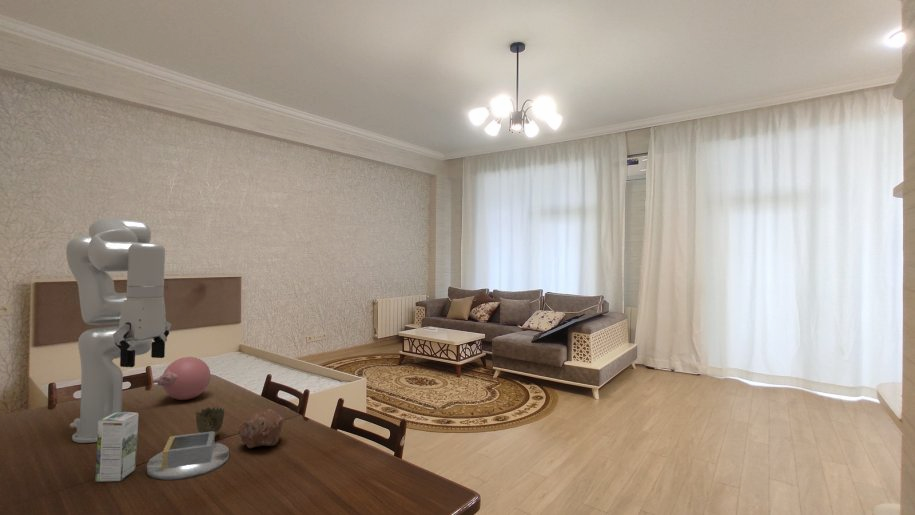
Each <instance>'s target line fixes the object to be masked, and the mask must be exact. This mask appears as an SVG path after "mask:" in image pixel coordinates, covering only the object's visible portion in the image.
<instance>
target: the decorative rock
mask: <svg viewBox="0 0 915 515" xmlns="http://www.w3.org/2000/svg"><path fill="white" fill-rule="evenodd" d="M283 422H284V418H283V417H282V416H281V415H280V414H279V413H278V412H276V411H275V410H273V409H270V408H269V409H267V410H265V409H263V410H260V411H258V412H256V411H255V412H253V413H252V414H251V415H246V417H245V418H244V419H243V420H242V422H241V423H240V424H239V426H238V430H237V431H238V432H237V433H238V434H239V437H240V440H241V441H242V442H243V443H245V446H246V447H247V448H248V449H253V448H255V447H257V448H258V447H262V446H263V447H274V446H275V445H277V444H278V442H279V440H280V436H281V433H282V426H283Z"/></svg>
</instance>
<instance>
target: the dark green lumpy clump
mask: <svg viewBox="0 0 915 515" xmlns="http://www.w3.org/2000/svg"><path fill="white" fill-rule="evenodd" d="M225 410H226V409H225V408H224V407H219V406H218V407H217V408H216V407H215V406H213V407H212V408H211V407H209V406H208V407H206V408H205V409H204V408H201V410H200V412H199V410H198V411H196V412H195V419H196V421H195V422H196V427H197V431H198V433H203V432H211V431H215V438H216V437H217V435H218V434H217V432H219V431H220V430H221V429H222V427H223V423H224V418H225V417H224V416H225Z"/></svg>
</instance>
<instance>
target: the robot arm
mask: <svg viewBox="0 0 915 515" xmlns="http://www.w3.org/2000/svg"><path fill="white" fill-rule="evenodd" d="M151 238H152V233H151V228H150V226H149V225H148V224H147V223H146V222H144V221H143V220H139V219H129V218H128V219H126V218H113V217H112V218H110V217H103V218H98V219H97V220H94V221H93V222H92V223H91V224H90V226H89V228H88V235H87V236H78V237H74V238H72V239H70V240H68V243H67V244H66V249H65V250H66V251H65V252H66V253H65V254H66V261H67V265H68V268H69V269H70V271H71V273H72V275H73V277H74V279H75V281H76V283H77V286H78V295H79V304H80V305H79V306H80V313H81V318H82V320H83V322H84V323H85V324H86V325H89V326H90V325H91V326H98V327H95V328H90V329H86V330H85V331H84V332H82V333H81V334H80V336H79V337H78V341H77V343H78V344H77V345H78V352H79V358H80V369H81V370H80V373H81V374H80V376H81V378H80V379H81V380H80V408H79V409H80V411H79V414H80V416H79V417H77V418H75V419H74V420H73V422H71V423H70V424H69V428H76V431H75V432H74V433H73V434H72V436H71V437H72V438H71V439H72V441H73V442H74V443H78V444H91V443H97V438H98V421H100V420H101V419H103V418H105V417H107V416H109V415H111V414H113V413H117V412H123V406H122V405H123V382H124V381H123V377H124V376H123V373H124V372H123V371H122V369H121V368H122V367H123V368H133V367H135V366H136V356H142V355H144V354H147V353H148V352H150V354H151V355H150V357H151V358H152V359H163V358H165V356H166V355H165V354H166V352H165V351H166V342H167V341H168V339H167V338H168V336H169V334H170V330H171V327H172V323H171V322H170V321H167V318H166V317H167V316H166V314H167V313H166V312H167V311H166V304H165V303H166V302H165V296H164V293H165V269H166V268H165V264H166V262H165V261H166V251H165V246H164V245H162V244H159V243H150V242H151ZM109 272H112V273H113V272H127V276H126V279H127V280H126V292H117V291H116V289H115V282H114V279H113V277H112V276H111V275H110V274H109ZM106 325H107V326H106ZM108 325H111V326H108ZM99 326H101V327H99ZM115 359H119V366H118V364H116V363H115V362H114V361H113V360H115Z"/></svg>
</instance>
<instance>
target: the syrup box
mask: <svg viewBox="0 0 915 515" xmlns="http://www.w3.org/2000/svg"><path fill="white" fill-rule="evenodd" d="M138 427H139V413H138V412H132V411H122V412H117V413H113V414H111V415H109V416H107V417H105V418H103V419H101V420H100V421H98V438H97V442H96V457H95V458H96V463H95V476H94V478H95V480H94V481H95V482H120V481H122V480H124V479H125V478H127V477H128V476H129V475H131V474H132V473H134V471H136V469H137V452H138V451H137V449H138V447H137V446H138V432H139V431H138V430H139V428H138Z"/></svg>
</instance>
